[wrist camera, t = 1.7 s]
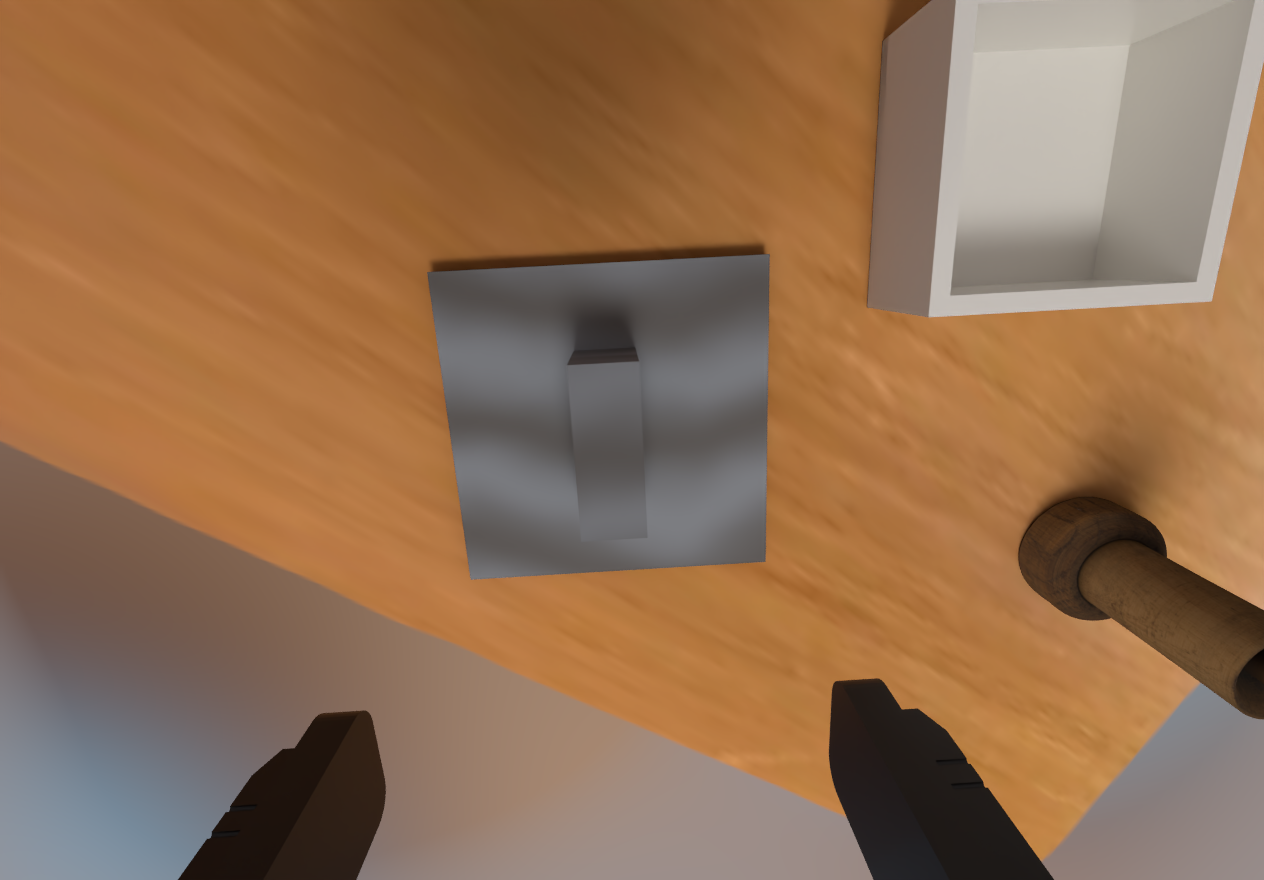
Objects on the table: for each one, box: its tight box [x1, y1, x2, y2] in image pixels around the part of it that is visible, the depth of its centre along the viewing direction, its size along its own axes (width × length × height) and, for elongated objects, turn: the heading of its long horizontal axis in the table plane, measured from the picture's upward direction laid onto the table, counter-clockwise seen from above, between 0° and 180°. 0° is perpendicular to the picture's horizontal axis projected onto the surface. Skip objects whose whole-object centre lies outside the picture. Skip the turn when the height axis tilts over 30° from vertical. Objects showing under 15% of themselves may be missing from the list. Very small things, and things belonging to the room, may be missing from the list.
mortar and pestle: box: [1019, 497, 1264, 719], centre depth 25 cm, size 7×6×18 cm
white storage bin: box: [867, 0, 1264, 317], centre depth 25 cm, size 12×12×6 cm
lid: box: [427, 254, 770, 579], centre depth 29 cm, size 16×16×6 cm
